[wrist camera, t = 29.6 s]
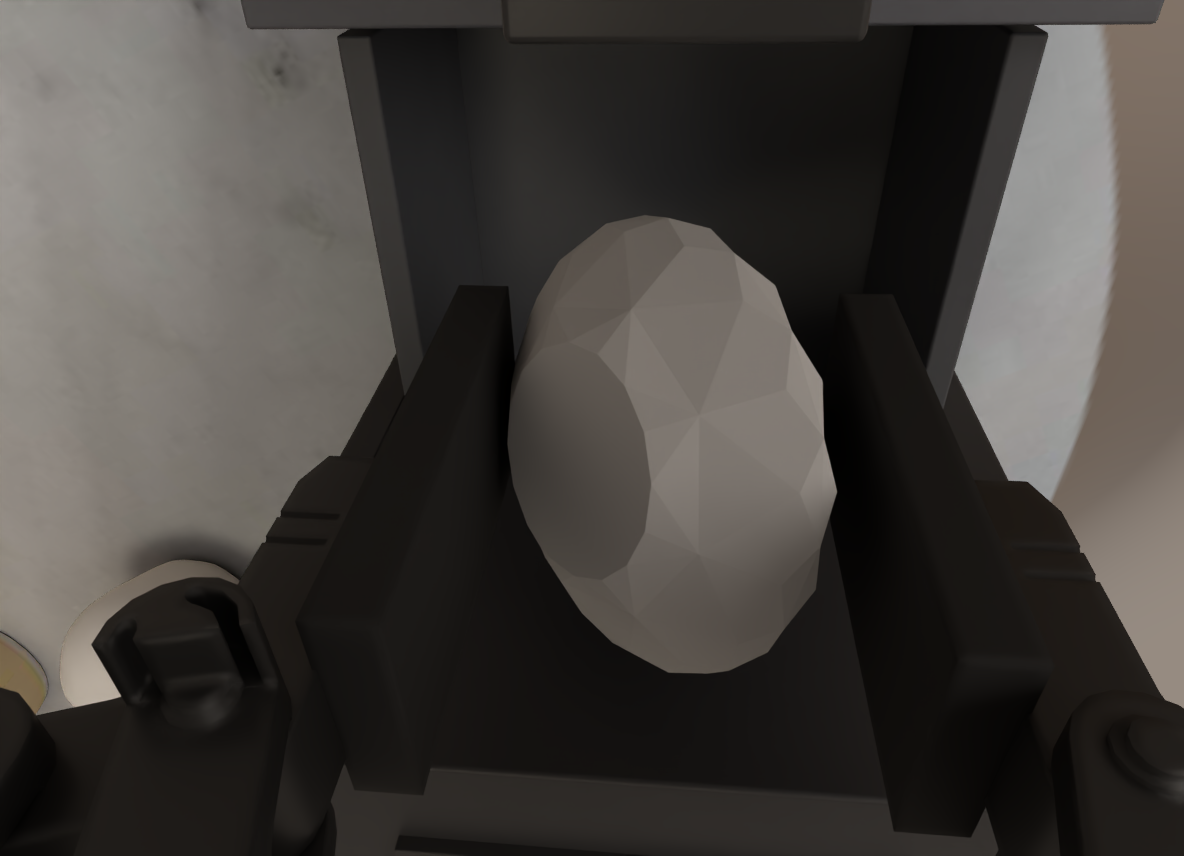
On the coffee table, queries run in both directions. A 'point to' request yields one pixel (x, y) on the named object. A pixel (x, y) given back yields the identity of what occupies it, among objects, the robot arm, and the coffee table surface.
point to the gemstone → (671, 445)
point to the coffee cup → (22, 673)
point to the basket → (692, 142)
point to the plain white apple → (78, 658)
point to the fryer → (643, 725)
